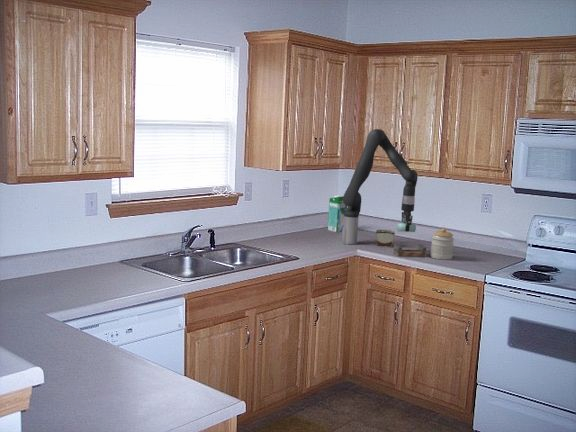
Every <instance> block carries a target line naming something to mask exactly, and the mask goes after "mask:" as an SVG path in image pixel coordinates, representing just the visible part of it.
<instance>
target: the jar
mask: <svg viewBox="0 0 576 432" xmlns="http://www.w3.org/2000/svg"><path fill="white" fill-rule="evenodd" d="M453 236H454V234H453V233H451V232H450V231H448V230H447V229H446V228H444V227H443V228H442V229H441V230H437V231H435V232H433V236H431V239H432V241H431V242H430V243H431V247H430V248H431V249H430V257H431V258H433V259H436V260H443V261H445V260H446V261H447V260H448V261H449V260H452V259H453V256H454V241H455V238H454V237H453Z"/></svg>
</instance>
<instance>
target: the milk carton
mask: <svg viewBox="0 0 576 432" xmlns="http://www.w3.org/2000/svg"><path fill="white" fill-rule="evenodd" d="M343 196H344V195H343ZM343 196H341V195H334V197H329V199H328V200H329V205H328V218H327V219H328V220H327V231H330V232H334V233H342V228H343V225H344V212H345V211H346V210H347V208H348V206H346V205H345V204H344V202H343Z"/></svg>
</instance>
